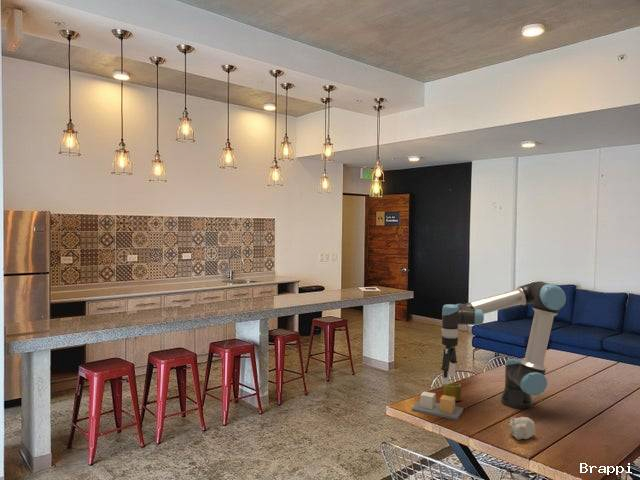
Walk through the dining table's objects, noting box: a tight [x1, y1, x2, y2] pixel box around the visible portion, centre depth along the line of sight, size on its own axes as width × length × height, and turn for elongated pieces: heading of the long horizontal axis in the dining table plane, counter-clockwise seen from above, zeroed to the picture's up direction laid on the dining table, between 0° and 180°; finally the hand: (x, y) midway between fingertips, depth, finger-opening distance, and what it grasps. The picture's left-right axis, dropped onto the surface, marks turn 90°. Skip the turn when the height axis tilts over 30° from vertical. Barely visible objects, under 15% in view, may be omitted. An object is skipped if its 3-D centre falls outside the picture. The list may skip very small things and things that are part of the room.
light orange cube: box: [439, 394, 456, 413], centre depth 233 cm, size 6×6×6 cm
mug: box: [442, 381, 462, 402], centre depth 253 cm, size 12×10×10 cm
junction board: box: [411, 391, 464, 421], centre depth 236 cm, size 22×14×7 cm, turn 62°
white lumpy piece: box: [509, 415, 536, 440], centre depth 209 cm, size 9×11×15 cm
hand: (449, 380), depth 233 cm, fingers open, 13 cm apart
